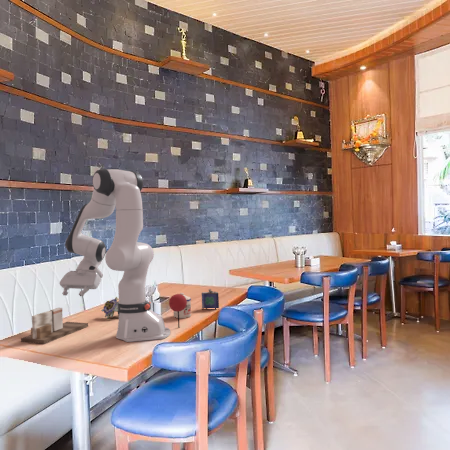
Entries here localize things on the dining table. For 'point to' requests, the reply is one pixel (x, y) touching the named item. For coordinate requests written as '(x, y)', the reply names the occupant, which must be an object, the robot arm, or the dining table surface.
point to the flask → (210, 299)
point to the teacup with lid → (186, 311)
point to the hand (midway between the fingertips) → (72, 295)
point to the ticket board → (57, 333)
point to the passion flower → (110, 308)
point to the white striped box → (57, 319)
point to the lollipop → (177, 303)
